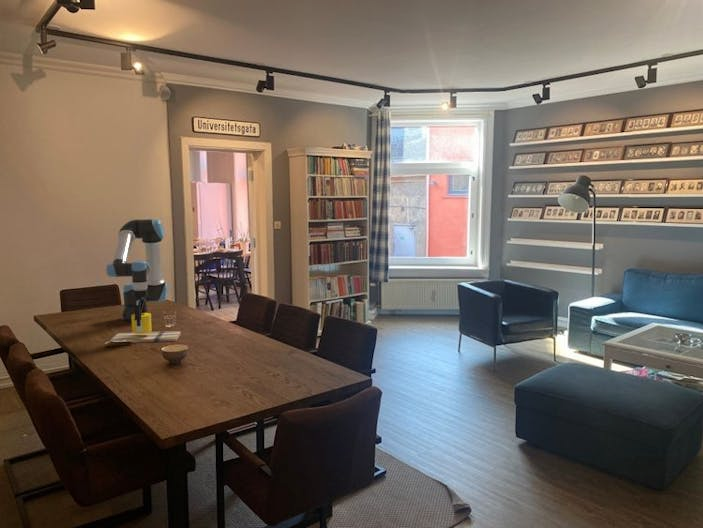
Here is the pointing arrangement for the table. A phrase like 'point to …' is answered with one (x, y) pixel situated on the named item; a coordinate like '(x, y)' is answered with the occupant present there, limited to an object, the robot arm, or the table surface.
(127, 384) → the table surface
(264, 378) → the table surface
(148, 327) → the tape roll
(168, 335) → the board
